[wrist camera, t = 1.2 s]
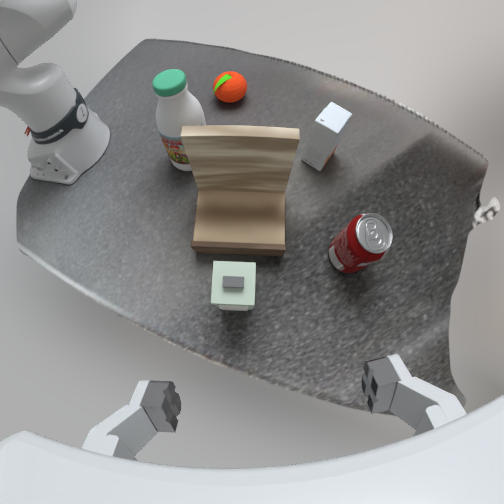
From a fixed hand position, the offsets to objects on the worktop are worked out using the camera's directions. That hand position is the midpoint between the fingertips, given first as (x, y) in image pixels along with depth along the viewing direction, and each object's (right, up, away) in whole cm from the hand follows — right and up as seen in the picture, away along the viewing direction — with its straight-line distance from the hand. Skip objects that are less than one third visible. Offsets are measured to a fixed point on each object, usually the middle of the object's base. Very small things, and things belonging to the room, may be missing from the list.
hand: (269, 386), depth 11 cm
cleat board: (-3, +11, +37) cm, 38 cm away
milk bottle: (-12, +24, +40) cm, 48 cm away
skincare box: (+12, +24, +41) cm, 48 cm away
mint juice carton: (-3, -1, +34) cm, 34 cm away
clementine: (-6, +38, +44) cm, 58 cm away
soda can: (+15, +5, +36) cm, 39 cm away
